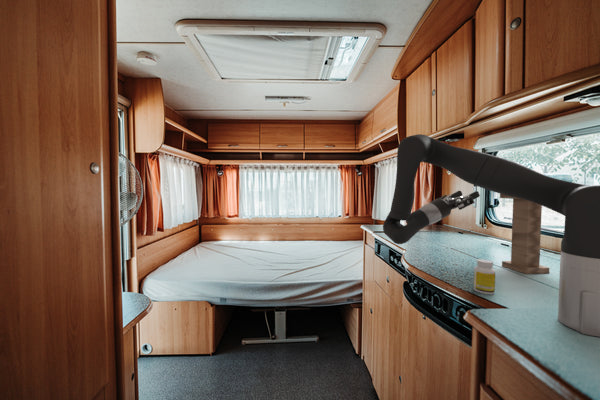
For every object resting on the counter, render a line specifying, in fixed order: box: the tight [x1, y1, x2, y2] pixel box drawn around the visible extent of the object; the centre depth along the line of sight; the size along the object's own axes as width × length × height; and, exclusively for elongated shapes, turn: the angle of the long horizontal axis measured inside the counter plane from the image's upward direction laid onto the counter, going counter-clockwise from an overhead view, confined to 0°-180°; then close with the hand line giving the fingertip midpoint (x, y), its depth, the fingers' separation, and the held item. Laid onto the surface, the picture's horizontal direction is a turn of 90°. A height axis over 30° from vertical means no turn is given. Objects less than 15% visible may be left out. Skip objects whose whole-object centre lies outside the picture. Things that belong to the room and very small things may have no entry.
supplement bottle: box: [473, 258, 496, 295], centre depth 76 cm, size 5×5×10 cm
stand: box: [499, 193, 550, 275], centre depth 98 cm, size 12×12×31 cm
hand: (469, 193), depth 93 cm, fingers open, 8 cm apart
